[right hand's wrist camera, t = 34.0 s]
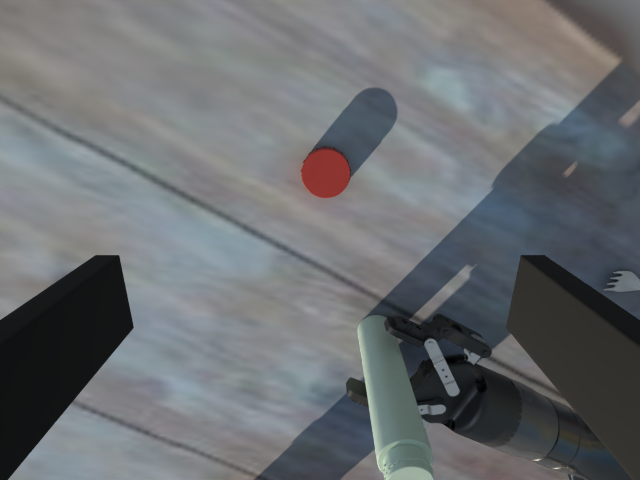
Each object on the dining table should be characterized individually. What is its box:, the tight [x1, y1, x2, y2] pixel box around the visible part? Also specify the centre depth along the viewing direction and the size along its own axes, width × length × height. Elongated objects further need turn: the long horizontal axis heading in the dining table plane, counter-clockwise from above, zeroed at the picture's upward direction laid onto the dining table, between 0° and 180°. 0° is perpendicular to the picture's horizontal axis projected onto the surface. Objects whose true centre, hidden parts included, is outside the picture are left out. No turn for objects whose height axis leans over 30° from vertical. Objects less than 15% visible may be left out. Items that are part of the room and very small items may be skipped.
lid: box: [301, 146, 351, 198], centre depth 37 cm, size 5×5×2 cm
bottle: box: [358, 315, 434, 480], centre depth 35 cm, size 4×4×19 cm
